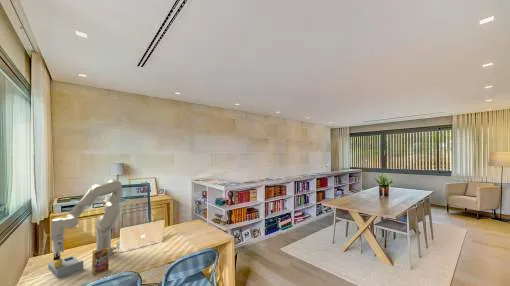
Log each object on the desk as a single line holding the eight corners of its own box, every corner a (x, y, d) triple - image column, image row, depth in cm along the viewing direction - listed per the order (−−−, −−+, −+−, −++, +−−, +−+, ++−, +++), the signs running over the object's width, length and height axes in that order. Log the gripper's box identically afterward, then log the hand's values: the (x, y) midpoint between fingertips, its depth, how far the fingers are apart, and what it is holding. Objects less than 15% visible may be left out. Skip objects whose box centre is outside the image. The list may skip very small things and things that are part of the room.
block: (60, 264, 158) (60, 258, 158) (62, 265, 156) (62, 260, 156) (53, 266, 155) (53, 260, 155) (54, 268, 152) (55, 262, 152)
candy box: (93, 275, 150) (94, 252, 150) (91, 273, 152) (92, 250, 153) (108, 270, 156) (109, 248, 157) (106, 268, 159) (107, 246, 159)
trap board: (72, 259, 170) (72, 252, 170) (83, 268, 158) (83, 260, 158) (48, 267, 159) (48, 259, 159) (57, 278, 146) (57, 269, 147)
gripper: (67, 237, 157) (66, 263, 157) (61, 232, 166) (60, 257, 165) (53, 240, 151) (52, 268, 150) (47, 235, 160) (46, 261, 159)
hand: (56, 262), depth 158 cm, fingers closed
